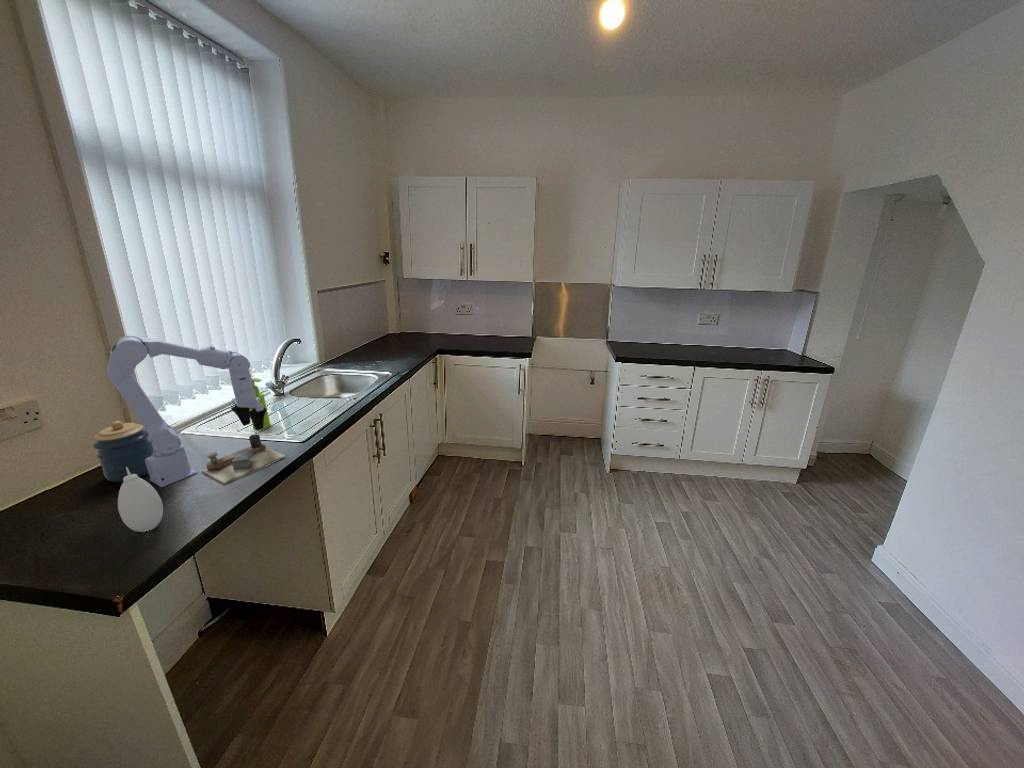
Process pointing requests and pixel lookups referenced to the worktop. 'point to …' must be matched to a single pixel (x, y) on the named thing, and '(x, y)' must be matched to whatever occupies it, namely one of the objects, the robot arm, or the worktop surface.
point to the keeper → (242, 460)
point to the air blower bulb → (139, 504)
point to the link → (234, 454)
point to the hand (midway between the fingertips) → (253, 426)
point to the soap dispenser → (262, 401)
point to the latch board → (257, 461)
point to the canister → (123, 450)
